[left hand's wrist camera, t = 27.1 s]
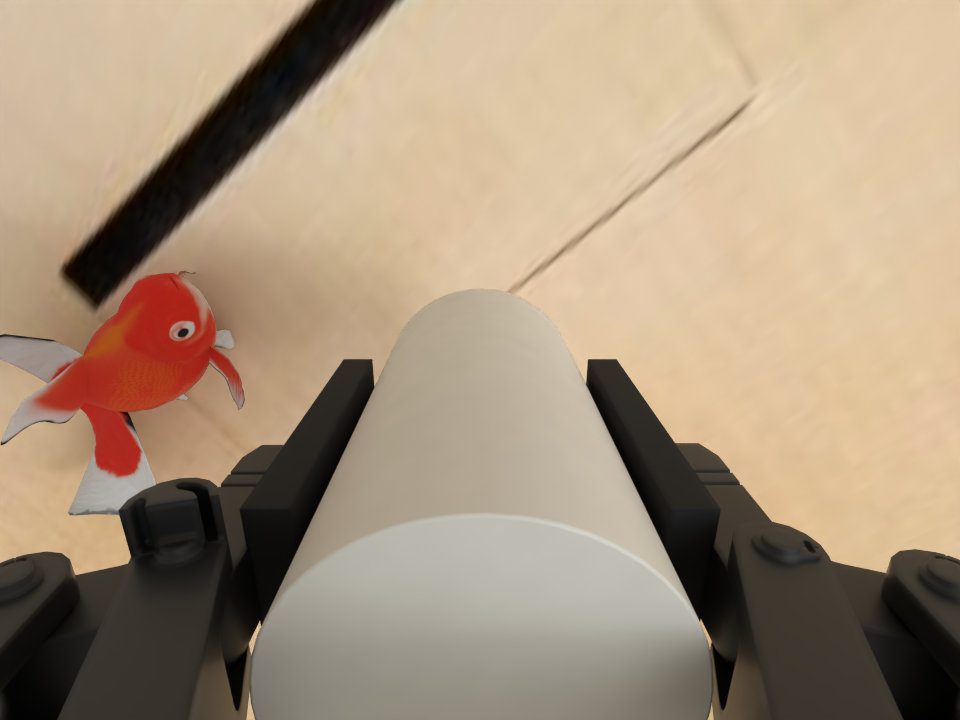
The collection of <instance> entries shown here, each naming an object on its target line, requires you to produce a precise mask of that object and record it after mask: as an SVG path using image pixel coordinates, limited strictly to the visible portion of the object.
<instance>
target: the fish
mask: <svg viewBox="0 0 960 720" xmlns="http://www.w3.org/2000/svg"><path fill="white" fill-rule="evenodd" d="M186 273H195V272H191V271H181V272H179V275H176V274H174V273H165V274H158V275H148V276H144V277H142V278H140V279H139V280H138V281H137V282H136V283H135V285H134V286H133V288H132V290H131V291H130V292H129V293H128V294H127V295H126V296H125V298H124V299H123V301H122V303H121V305H120V307H119V310H118V313H117V314H116V315H114V316H113V317H111V318H110V319H109V320H108V321H107V322H106V323H105V324H104V325H103V326H102V327H101V328H100V329H99V330H98V331H97V332H96V333H95V334H94V336H93V337H92V339H91V341H90V343H89V344H88V346H87V348H86V350H85V352H84V355H83V354H81V353H79V352H77V351H75V350H73V349H72V348H70V347H68V346H65V345H63V344H61V343H59V342H57V341H54V340H49V339H40V338H32V337H24V336H15V335H7V334H4V335H0V359H1V360H4V361H6V362H8V363H11V364H13V365H15V366H17V367H19V368H21V369H23V370H25V371H27V372H29V373H31V374H33V375H35V376H36V377H38V378H40V379H42V380H43V381H45V382H47V383H48V384H47V385H46V386H44V387H43V388H42V389H40V390H39V391H37V392H36V393H34V394H32V395H31V396H29V397H28V398H26V399H25V400H23V402H22V403H21V405H20V406H19V408H18V409H17V411H16V412H15V414H14V415H13V417H12V419H11V421H10V423H9V425H8V428H7V430H6V432H5V434H4V436H3V439H2V441H1V445H3V444H6V443H7V442H8V441H9V440H11V439H12V438H13V437H14V436H16V435H17V434H18V433H19V432H21V431H22V430H23V429H25V428H27V427H28V426H30V425H32V424H34V423H37V422H44V421H45V422H51V423H65V422H67V421H69V420H70V419H71V418H72V417H73V416H74V414H75V413H76V412H77V411H78V410H79V409H80V408H81V409H82V410H83V411H84V412H85V413H86V414H87V416H88V417H89V420H90V422H91V424H92V426H93V430H94V434H95V446H94V452H93V455H92V457H91V460H90V462H89V465H88V467H87V470H86V472H85V474H84V477H83V479H82V482H81V485H80V487H79V490H78V492H77V494H76V497H75V499H74V501H73V503H72V505H71V507H70V509H69V511H68V513H69V514H70V515H88V514H116V515H119V511H118V510H119V509H120V508H121V507H122V506H123V504H124V503H125V502H126V501H127V500H128V499H130V498H131V497H133V496H134V495H136V494H138V493H139V492H141V491H142V490H144V489H147V488H149V487H152V486H154V485H157V483H156V480H155V478H154V475H153V473H152V470H151V468H150V465H149V463H148V460H147V458H146V455H145V453H144V450H143V448H142V445H141V443H140V441H139V438H138V435H137V433H136V430H135V428H134V425H133V423H132V420H131V418H130V416H129V414H128V412H132V411H140V410H147V409H152V408H155V407H158V406H160V405H163V404H165V403H167V402H170V401H172V400H174V399H178V400H187V399H188V398H187V397H186V396H185V395H184V393H186V392H187V391H188V390H189V389H190V388H191V387H192V386H193V385H194V384H195V383H196V382H197V381H199V379H200V378H201V377H202V376H203V374H204V372H205V371H206V369H207V367H208V365H209V363H210V364H211V365H212V366H213V367H214V368H215V369H216V370H217V371H219V372H220V373H221V374H222V375H223V376H224V377H225V379H226V381H227V383H228V386H229V389H230V392H231V394H232V397H233V399H234V401H235V402H236V404H237V405H238V410H239V409H241V408H242V406H243V404H244V401H245V399H244V391H243V389H242V383H241V379H240V376H239V374H238V372H237V371H236V369H235V368H234V367H233V365H232V364H231V362H230V361H229V359H228V358H226V357H225V356H224V355H223V354H222V353H220V352H219V351H218V350H217V349H216V348H215V346H216V347H221V348H225V349H232V348H233V347H234V346H235V344H234V340H233V338H232V335H231V333H230V331H229V330H228V329H224V330H220V331H217V327H216V320H215V318H214V315H213V313H212V310H211V308H210V306H209V304H208V302H207V301H206V299H205V298H204V296H203V294H202V293H201V292H200V291H199V290H198V289H197V288H196V287H195V286H194V285H193V284H192V283H191V282H190V281H189V280H188V279H186V278H183V277H184V276H185V274H186Z"/></svg>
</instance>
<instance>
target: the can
mask: <svg viewBox="0 0 960 720" xmlns="http://www.w3.org/2000/svg"><path fill="white" fill-rule="evenodd" d="M249 685H250V696H251V705H252V709H253V712H254V716H255V720H707V719H708V716H709V713H710V710H711V703H712V697H713V690H714V682H713V662H712V658H711V653H710V649H709V644H708V641H707V638H706V636H705V633H704V631H703V629H702V626H701V624H700V622H699V619H698V617H697V615H696V613H695V611H694V609H693V607H692V605H691V602H690V600H689V598H688V596H687V594H686V592H685V590H684V588H683V586H682V584H681V582H680V580H679V577H678V575H677V573H676V571H675V569H674V567H673V565H672V563H671V561H670V559H669V557H668V555H667V552H666V550H665V548H664V546H663V544H662V542H661V540H660V538H659V536H658V534H657V532H656V530H655V527H654V525H653V523H652V521H651V519H650V517H649V515H648V513H647V511H646V509H645V507H644V504H643V502H642V500H641V498H640V496H639V494H638V492H637V490H636V488H635V486H634V484H633V482H632V479H631V477H630V475H629V473H628V471H627V469H626V467H625V465H624V463H623V461H622V459H621V457H620V454H619V452H618V450H617V448H616V446H615V444H614V442H613V440H612V438H611V436H610V434H609V431H608V429H607V427H606V425H605V423H604V421H603V419H602V417H601V415H600V413H599V411H598V409H597V406H596V404H595V402H594V400H593V398H592V396H591V394H590V392H589V390H588V388H587V386H586V384H585V381H584V379H583V377H582V375H581V373H580V371H579V369H578V367H577V365H576V363H575V361H574V358H573V356H572V354H571V352H570V350H569V348H568V346H567V344H566V342H565V340H564V338H563V336H562V334H561V333H560V331H559V329H558V328H557V326H556V325H555V324H554V323H553V321H552V320H551V319H550V318H549V317H548V316H547V315H546V314H545V313H544V312H543V311H542V310H541V309H539V308H538V307H536V306H535V305H534V304H532V303H531V302H529V301H527V300H525V299H523V298H521V297H519V296H516V295H513V294H510V293H508V292H503V291H498V290H491V289H469V290H463V291H458V292H455V293H451V294H448V295H445V296H443V297H441V298H439V299H437V300H434V301H433V302H431V303H430V304H428V305H427V306H425V307H424V308H422V309H421V310H420V311H419V312H418V313H416V314H415V315H414V316H413V318H412V319H411V320H410V321H409V322H408V323H407V324H406V326H405V327H404V329H403V330H402V332H401V333H400V335H399V337H398V339H397V341H396V343H395V345H394V348H393V350H392V352H391V354H390V356H389V358H388V360H387V362H386V364H385V367H384V369H383V371H382V373H381V375H380V377H379V379H378V381H377V383H376V386H375V388H374V390H373V392H372V394H371V396H370V398H369V400H368V402H367V405H366V407H365V409H364V411H363V413H362V415H361V417H360V419H359V421H358V424H357V426H356V428H355V430H354V432H353V434H352V436H351V438H350V440H349V443H348V445H347V447H346V449H345V451H344V453H343V455H342V457H341V459H340V462H339V464H338V466H337V468H336V470H335V472H334V474H333V476H332V478H331V481H330V483H329V485H328V487H327V489H326V491H325V493H324V495H323V497H322V500H321V502H320V504H319V506H318V508H317V510H316V512H315V514H314V516H313V519H312V521H311V523H310V525H309V527H308V529H307V531H306V533H305V535H304V538H303V540H302V542H301V544H300V546H299V548H298V550H297V552H296V554H295V556H294V559H293V561H292V563H291V565H290V567H289V569H288V571H287V573H286V575H285V578H284V580H283V582H282V584H281V586H280V588H279V590H278V592H277V594H276V597H275V599H274V601H273V603H272V605H271V607H270V609H269V611H268V613H267V616H266V618H265V620H264V622H263V624H262V626H261V628H260V630H259V632H258V635H257V639H256V642H255V645H254V649H253V652H252V656H251V665H250V676H249Z"/></svg>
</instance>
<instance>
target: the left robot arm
mask: <svg viewBox="0 0 960 720" xmlns="http://www.w3.org/2000/svg"><path fill="white" fill-rule="evenodd" d="M586 386H587V388H588V390H589V392H590V394H591V396H592V398H593V400H594V402H595V404H596V406H597V409H598V411H599V413H600V415H601V417H602V419H603V421H604V423H605V425H606V427H607V429H608V431H609V434H610V436H611V438H612V440H613V442H614V444H615V446H616V448H617V450H618V452H619V454H620V457H621V459H622V461H623V463H624V465H625V467H626V469H627V471H628V473H629V475H630V477H631V479H632V482H633V484H634V486H635V488H636V490H637V492H638V494H639V496H640V498H641V500H642V502H643V504H644V507H645V509H646V511H647V513H648V515H649V517H650V519H651V521H652V523H653V525H654V527H655V530H656V532H657V534H658V536H659V538H660V540H661V542H662V544H663V546H664V548H665V550H666V552H667V555H668V557H669V559H670V561H671V563H672V565H673V567H674V569H675V571H676V573H677V575H678V577H679V580H680V582H681V584H682V586H683V588H684V590H685V592H686V594H687V596H688V598H689V600H690V602H691V605H692V607H693V609H694V611H695V613H696V615H697V617H698V619H699V622H700V619H701V620H702V622H703V624H704V626H705V628H706V630H707V632H708V634H709V636H710V638H711V640H712V642H711V647H710V653H711V658H712V662H713V682H714V690H713V697H712V707H713V716H714V720H960V560H958V559H956V558H953V557H950V556H945V555H944V554H940V553H936V552H930V551H923V550H916V549H914V550H905V551H899V552H898V553H896V554H895V555H894V556H892V557H891V560H890V563H889V566H888V569H887V572H886V573H882V572H878V571H873V570H868V569H863V568H859V567H854V566H849V565H844V564H840V563H836V562H833V561H831V560H830V558H829V556H828V554H827V553H826V552H825V550H824V549H823V548H822V546H821V545H820V544H819V543H817V542H816V541H815V540H813V539H812V538H811V537H809V536H808V535H806V534H805V533H802V532H800V531H798V530H796V529H794V528H792V527H790V526H786V525H782V524H779V523H775V522H772V521H771V520H770V519H769V518H768V516H767V515H766V514H765V513H764V511H763V510H762V509H761V508H760V506H759V505H758V504H757V503H756V502H755V500H754V499H753V498H752V497H751V495H750V494H749V493H748V492H747V491H746V489H745V488H744V487H743V486H742V485H740V482H739V481H738V480H737V478H736V477H735V476H734V475H733V473H730V470H729V468H728V467H727V466H726V465H725V464H724V462H723V461H722V460H721V459H720V457H719V456H718V455H716V454H715V453H713V452H711V451H710V450H708V449H707V448H705V447H703V446H702V445H700V444H699V443H674V441H673V440H672V438H671V437H670V435H669V434H668V433H667V431H666V430H665V428H664V427H663V425H662V424H661V422H660V421H659V420H658V418H657V417H656V415H655V414H654V412H653V411H652V410H651V408H650V407H649V405H648V404H647V402H646V401H645V400H644V398H643V397H642V395H641V394H640V392H639V391H638V390H637V388H636V387H635V385H634V384H633V382H632V381H631V379H630V378H629V377H628V375H627V374H626V372H625V371H624V369H623V368H622V367H621V365H620V364H619V362H618V361H617V359H588V368H587V381H586ZM373 390H374V377H373V363H372V359H344V360H343V361H342V363H341V364H340V366H339V367H338V369H337V370H336V371H335V373H334V374H333V376H332V377H331V379H330V380H329V381H328V383H327V384H326V386H325V387H324V389H323V390H322V391H321V393H320V394H319V396H318V397H317V399H316V400H315V402H314V403H313V404H312V406H311V407H310V409H309V410H308V412H307V413H306V414H305V416H304V417H303V419H302V420H301V422H300V423H299V424H298V426H297V427H296V429H295V430H294V432H293V433H292V434H291V436H290V437H289V439H288V440H287V442H286V443H285V445H262V446H260V447H258V448H257V449H255V450H254V451H252V452H250V453H249V454H247V455H246V456H244V457H243V458H242V459H241V460H240V461H239V463H238V464H237V465H236V466H235V467H234V469H233V470H232V471H231V475H228V476H227V477H226V479H225V480H224V481H223V482H222V484H221V487H217V486H216V485H215V484H214V483H212V482H211V481H210V480H205V479H200V478H182V479H176V480H171V481H167V482H163V483H159V484H157V485H154V486H152V487H149V488H147V489H144V490H142V491H141V492H139V493H138V494H136V495H134V496H133V497H131V498H130V499H128V500H127V501H126V502H125V503H124V504H123V506H122V507H121V508H120V509H119V510H118V511H119V515H120V519H121V522H122V526H123V529H124V533H125V536H126V540H127V543H128V547H129V551H130V554H131V559H130V561H129V563H128V564H125V565H121V566H118V567H113V568H108V569H103V570H99V571H94V572H89V573H84V574H80V575H75V574H74V571H73V568H72V565H71V562H70V559H69V558H67V557H66V556H64V555H63V554H62V553H54V552H41V553H34V554H27V555H23V556H19V557H16V558H12V559H9V560H7V561H4V562H2V563H0V720H246V717H247V709H248V700H249V691H250V685H249V676H250V665H251V652H250V647H249V642H250V640H251V638H252V636H253V633H254V631H255V629H256V627H257V625H258V623H259V621H260V622H261V626H262V624H263V622H264V620H265V618H266V616H267V613H268V611H269V609H270V607H271V605H272V603H273V601H274V599H275V597H276V594H277V592H278V590H279V588H280V586H281V584H282V582H283V580H284V578H285V575H286V573H287V571H288V569H289V567H290V565H291V563H292V561H293V559H294V556H295V554H296V552H297V550H298V548H299V546H300V544H301V542H302V540H303V538H304V535H305V533H306V531H307V529H308V527H309V525H310V523H311V521H312V519H313V516H314V514H315V512H316V510H317V508H318V506H319V504H320V502H321V500H322V497H323V495H324V493H325V491H326V489H327V487H328V485H329V483H330V481H331V478H332V476H333V474H334V472H335V470H336V468H337V466H338V464H339V462H340V459H341V457H342V455H343V453H344V451H345V449H346V447H347V445H348V443H349V440H350V438H351V436H352V434H353V432H354V430H355V428H356V426H357V424H358V421H359V419H360V417H361V415H362V413H363V411H364V409H365V407H366V405H367V402H368V400H369V398H370V396H371V394H372V392H373Z"/></svg>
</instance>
